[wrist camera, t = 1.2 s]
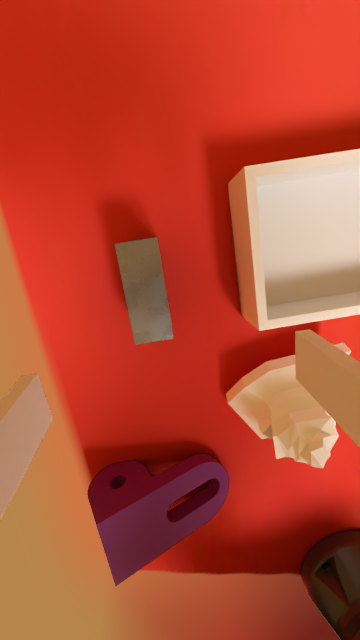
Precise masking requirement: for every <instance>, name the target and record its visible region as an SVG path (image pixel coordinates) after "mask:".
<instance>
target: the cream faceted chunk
mask: <svg viewBox="0 0 360 640" xmlns="http://www.w3.org/2000/svg"><path fill="white" fill-rule="evenodd" d="M334 346H336V347H337V348H339V349H340V350H342V351H343V352H345V353H346V354H348V355H349V354H350V353H351V350H350V349H349V348H348V347H347V346H346V345H345V344H344V343H339V344H335V345H334ZM226 398H227V402H228V404H229V405H230V406H231V407H232V408H233V409H234V410H235V412H236V413H237V414H238V415H239V416H240V417H241V418H242V419H243V420H244V421H245V422H246V423H247V424H248V425H249V426H250V428H251V429H252V430H253V431H254V432H255V433H256V434H257V435H258V436H259V437H260V438H261V439H266V438H271V439H273V441H274V447H275V454H276V459H279V458H283V457H290V458H294V460H295V461H296V462H302V463H307V464H309V465H311V467H317V468H323V467H324V465H325V463H326V461H327V459H328V458H329V457H330V450H331V449H332V447H333V445H334V444H335V442H336V440H337V439H338V437H339V435H338V433H337V430H336V428H335V425H336V422H335V420H334V419H333V418H332V417H331V416H330V415H329V414H328V413H327V412H326V411H325V410H324V409H323V407H322V406H321V405H320V404H319V403H318V402H317V401H316V400H315V399H314V398H313V397H312V396H311V395H310V393H309V392H308V391H307V390H306V389H305V388H304V387H303V386H302V385H301V384H300V383H299V382H298V380H297V379H296V368H295V355H291V356H287V357H282V358H278V359H274V360H270V361H266V362H265V363H263V364H262V365H260V366H259V367H257V368H256V369H254V370H253V371H251V372H250V373H248V374H246V375H245V376H243V377H242V378H241V379H240V380H239V381H238V382H237V383H236V384H235V385H234V386H233V387H232V388H231V389H230V390H229V391H228V392H227V393H226Z"/></svg>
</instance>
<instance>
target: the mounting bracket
mask: <svg viewBox="0 0 360 640" xmlns="http://www.w3.org/2000/svg"><path fill="white" fill-rule="evenodd" d="M210 479H211V481H210V483H209V485H208V486H207V487H206V488H205V489H203V490H202V491H200V492H199V493H197V494H196V495H194V496H193V497H191V498H189V499H188V500H186V501H185V502H183V503H182V504H180V505H178V506H177V507H175V508H174V509H172V510H170V511H168V509H169V507H170V505H171V504H172V503H173V502H175V501H176V500H178V499H179V498H181V497H182V496H184V495H186V494H187V493H189V492H190V491H192V490H194V489H195V488H197V487H198V486H200V485H202V484H203V483H205V482H206V481H208V480H210ZM228 488H229V477H228V473H227V471H226V469H225V468H224V467H223V466H222V465H221V464H220V463H219V462H218V461H217V460H216V459H215V458H213V457H212V456H210V455H207V454H197V455H193V456H191V457H189V458H187V459H185V460H183V461H182V462H180V463H178V464H176V465H175V466H173V467H171V468H169V469H168V470H166V471H164V472H162V473H160V474H159V475H157V476H151V475H150V474H149V473H148V471H147V470H146V468H145V467H144V465H143V464H141V463H140V462H138V461H134V460H128V461H123V462H118V463H113V464H111V465H109V466H107V467H105V468H104V469H103V470H101V471H100V472H99V473H98V474H97V475H96V476H95V477H94V478H93V480H92V481H91V483H90V485H89V488H88V498H89V502H90V505H91V508H92V512H93V515H94V518H95V522H96V525H97V528H98V531H99V534H100V538H101V541H102V544H103V547H104V550H105V553H106V557H107V560H108V563H109V566H110V569H111V572H112V576H113V579H114V582H115V585H116V586H117V585H118V584H120V583H121V582H123V581H124V580H125V579H127V578H128V577H130V576H131V575H133V574H134V573H135V572H137V571H138V570H140V569H141V568H142V567H144V566H145V565H147V564H148V563H150V562H151V561H152V560H154V559H155V558H157V557H158V556H160V555H161V554H162V553H164V552H165V551H167V550H168V549H170V548H171V547H172V546H174V545H175V544H177V543H178V542H179V541H181V540H182V539H184V538H185V537H187V536H188V535H189V534H191V533H192V532H194V531H195V530H197V529H198V528H199V527H201V526H202V525H204V524H205V523H207V522H208V521H209V520H210V519H212V518H213V517H214V516H215V515H216V513H217V512H218V511H219V509H220V508H221V506H222V505H223V503H224V501H225V499H226V496H227V493H228Z"/></svg>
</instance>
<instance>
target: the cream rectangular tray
mask: <svg viewBox="0 0 360 640" xmlns="http://www.w3.org/2000/svg"><path fill="white" fill-rule="evenodd" d="M228 192H229V201H230V211H231V221H232V230H233V240H234V249H235V259H236V268H237V278H238V287H239V297H240V306H241V316H242V317H243V318H244V319H245V320H247V321H248V322H249V323H250V324H251V325H253V326H254V327H255V328H256V329H257V330H259V331H262V330H268V329H274V328H280V327H286V326H292V325H298V324H304V323H310V322H316V321H322V320H328V319H334V318H340V317H346V316H352V315H358V314H360V149H354V150H348V151H341V152H335V153H328V154H322V155H315V156H309V157H302V158H296V159H289V160H283V161H276V162H270V163H263V164H257V165H250V166H244V167H243V168H242V169H241V170H240V171H239V172H238V173H237V174H236V175H235V177H234V178H233V179H232V180H231V181H230V182H229V183H228Z"/></svg>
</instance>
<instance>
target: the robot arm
mask: <svg viewBox="0 0 360 640" xmlns="http://www.w3.org/2000/svg"><path fill="white" fill-rule="evenodd" d="M295 368H296V379H297V380H298V382H299V383H300V384H301V385H302V386H303V387H304V388H305V389H306V390H307V391H308V392H309V393H310V395H311V396H312V397H313V398H314V399H315V400H316V401H317V402H318V403H319V404H320V405H321V406H322V407H323V409H324V410H325V411H326V412H327V413H328V414H329V415H330V416H331V417H332V418H333V419H334V420H335V422H336V423H337V424H338V425H339V426H340V427H341V428H342V429H343V430H344V431H345V432H346V433H347V435H348V436H349V437H350V438H351V439H352V440H353V441H354V442H355V443H356V444H357V445H358V446H359V447H360V362H358V361H357V360H355V359H354V358H352V357H351V356H349V355H348V354H346V353H345V352H343V351H342V350H340V349H339V348H337V347H336V346H334V345H333V344H331V343H330V342H328V341H327V340H325V339H324V338H322V337H321V336H319V335H318V334H316V333H315V332H313V331H312V330H310V329H307V330H301V331H295ZM52 420H53V418H52V414H51V412H50V409H49V406H48V403H47V400H46V397H45V394H44V391H43V388H42V385H41V382H40V379H39V376H38V373H36V374H30V375H24V376H21V378H20V379H19V380H18V381H17V382H16V383H15V384H14V386H13V387H12V388H11V389H10V390H9V391H8V392H7V393H6V395H5V396H4V397H3V398H2V399H1V400H0V520H1V518H2V516H3V514H4V512H5V510H6V508H7V507H8V505H9V502H10V501H11V499H12V497H13V495H14V493H15V491H16V489H17V487H18V485H19V484H20V481H21V480H22V478H23V476H24V474H25V472H26V470H27V468H28V466H29V464H30V463H31V460H32V459H33V457H34V455H35V453H36V451H37V449H38V447H39V445H40V443H41V441H42V440H43V438H44V436H45V434H46V432H47V430H48V428H49V426H50V424H51V422H52ZM301 576H302V580H303V583H304V585H305V588H306V590H307V592H308V595H309V597H310V598H311V600H312V601H313V603H314V604H315V606H316V607H317V608H318V610H319V611H320V612H321V614H322V615H323V616H324V618H325V619H326V620H327V622H328V623H329V624H330V626H331V627H332V628H333V630H334V631H335V632H336V634H337V635H338V636H339V638H340V639H341V640H360V531H344V532H340V533H336V534H334V535H331V536H329V537H327V538H325V539H323V540H322V541H320V542H319V543H318V544H316V545H315V546H314V547H313V548H312V549H311V550H310V551H309V553H308V554H307V556H306V557H305V559H304V562H303V564H302V569H301Z"/></svg>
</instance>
